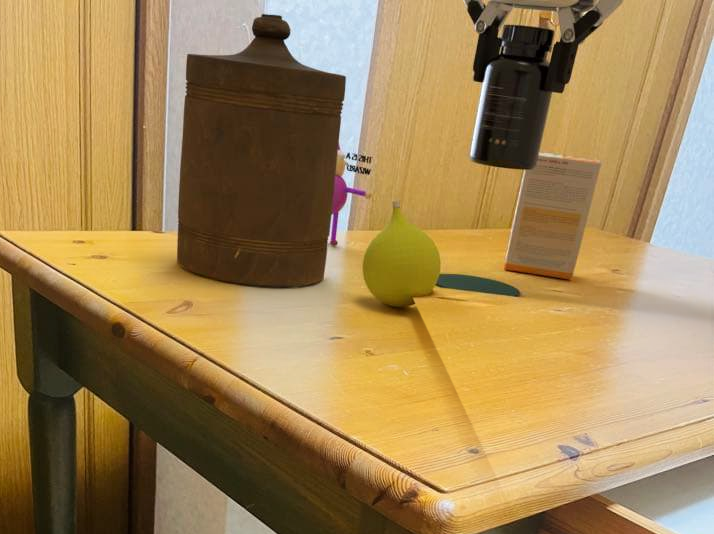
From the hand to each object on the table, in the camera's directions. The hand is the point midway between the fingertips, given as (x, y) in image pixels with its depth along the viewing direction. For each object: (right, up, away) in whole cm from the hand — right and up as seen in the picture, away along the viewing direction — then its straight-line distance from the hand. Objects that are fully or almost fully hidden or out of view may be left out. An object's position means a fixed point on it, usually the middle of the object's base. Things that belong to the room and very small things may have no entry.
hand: (517, 85), depth 81 cm
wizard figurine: (-18, -8, +21) cm, 29 cm away
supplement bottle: (-1, -6, +4) cm, 7 cm away
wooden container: (-26, -17, +4) cm, 31 cm away
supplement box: (+8, -11, +21) cm, 25 cm away
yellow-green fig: (-12, -22, -3) cm, 25 cm away
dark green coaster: (-2, -17, +9) cm, 19 cm away
